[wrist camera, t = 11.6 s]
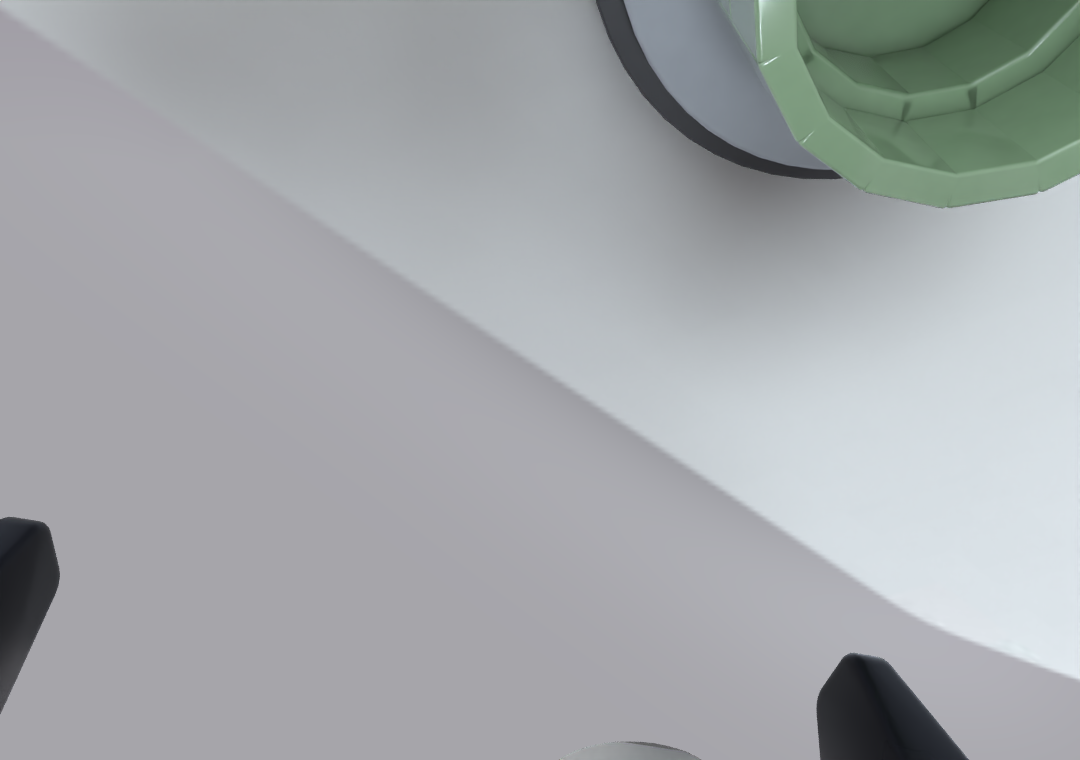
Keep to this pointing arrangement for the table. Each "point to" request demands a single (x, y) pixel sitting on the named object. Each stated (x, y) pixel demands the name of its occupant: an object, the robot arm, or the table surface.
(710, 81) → the scale
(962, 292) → the table surface
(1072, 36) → the cup
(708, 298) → the table surface
